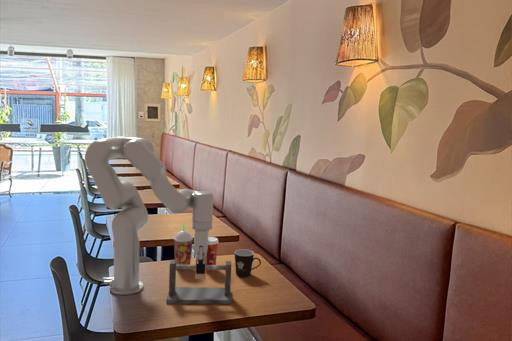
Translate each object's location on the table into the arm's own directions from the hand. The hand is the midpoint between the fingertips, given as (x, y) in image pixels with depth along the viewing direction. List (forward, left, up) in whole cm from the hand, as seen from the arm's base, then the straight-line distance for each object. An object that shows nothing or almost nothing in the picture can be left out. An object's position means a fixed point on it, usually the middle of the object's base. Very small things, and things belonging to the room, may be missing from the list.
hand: (200, 270), depth 164 cm
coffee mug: (+19, +22, -11) cm, 31 cm away
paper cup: (+3, +29, -11) cm, 31 cm away
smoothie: (-9, +30, -11) cm, 33 cm away
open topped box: (0, 0, -2) cm, 2 cm away
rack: (0, 0, -11) cm, 11 cm away
